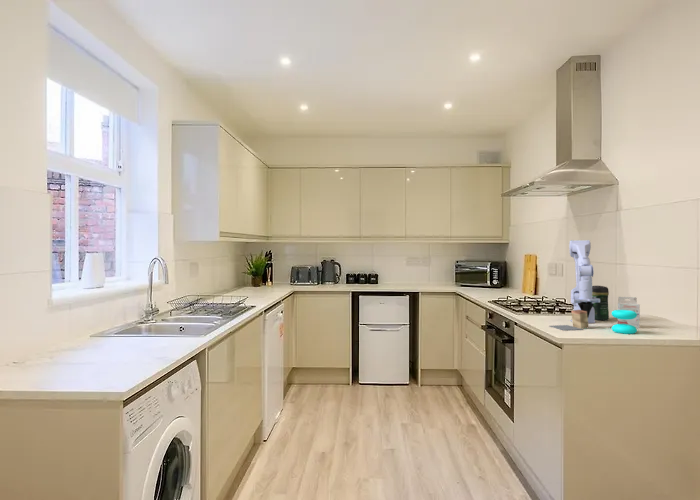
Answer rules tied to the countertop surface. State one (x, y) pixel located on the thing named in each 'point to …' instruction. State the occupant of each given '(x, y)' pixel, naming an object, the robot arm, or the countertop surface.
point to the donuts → (624, 327)
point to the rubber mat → (566, 327)
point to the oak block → (580, 319)
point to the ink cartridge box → (630, 306)
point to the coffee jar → (601, 302)
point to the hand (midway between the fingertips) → (585, 317)
